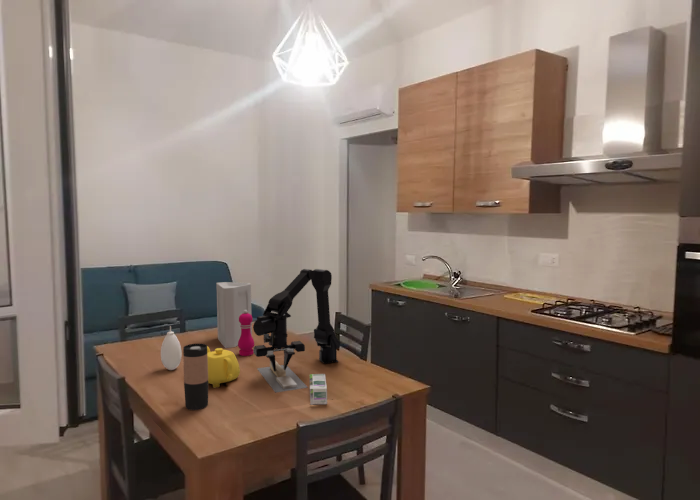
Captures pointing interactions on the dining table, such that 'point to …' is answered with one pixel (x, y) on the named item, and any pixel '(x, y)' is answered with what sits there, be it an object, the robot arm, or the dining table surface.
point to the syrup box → (318, 389)
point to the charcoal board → (272, 381)
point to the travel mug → (195, 376)
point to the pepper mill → (245, 335)
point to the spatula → (283, 377)
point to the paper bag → (231, 310)
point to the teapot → (221, 366)
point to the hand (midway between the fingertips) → (279, 370)
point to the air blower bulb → (171, 351)
